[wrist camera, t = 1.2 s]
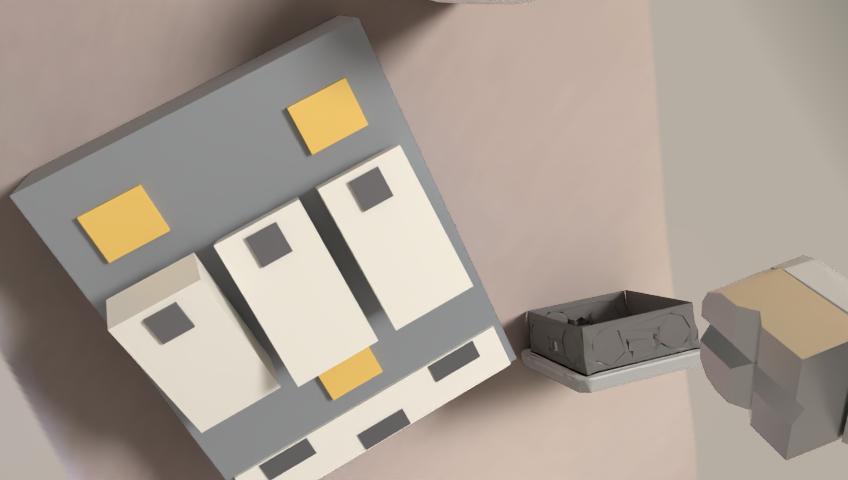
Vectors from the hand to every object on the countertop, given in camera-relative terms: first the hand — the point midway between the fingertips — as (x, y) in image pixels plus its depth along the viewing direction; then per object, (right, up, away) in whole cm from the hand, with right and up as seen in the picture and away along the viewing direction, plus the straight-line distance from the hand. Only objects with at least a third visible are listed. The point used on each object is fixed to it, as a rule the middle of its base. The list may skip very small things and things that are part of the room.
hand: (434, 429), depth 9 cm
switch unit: (-8, +1, +33) cm, 34 cm away
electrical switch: (+10, -3, +41) cm, 42 cm away
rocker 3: (-2, +3, +28) cm, 28 cm away
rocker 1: (-12, -2, +26) cm, 29 cm away
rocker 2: (-7, 0, +27) cm, 28 cm away
